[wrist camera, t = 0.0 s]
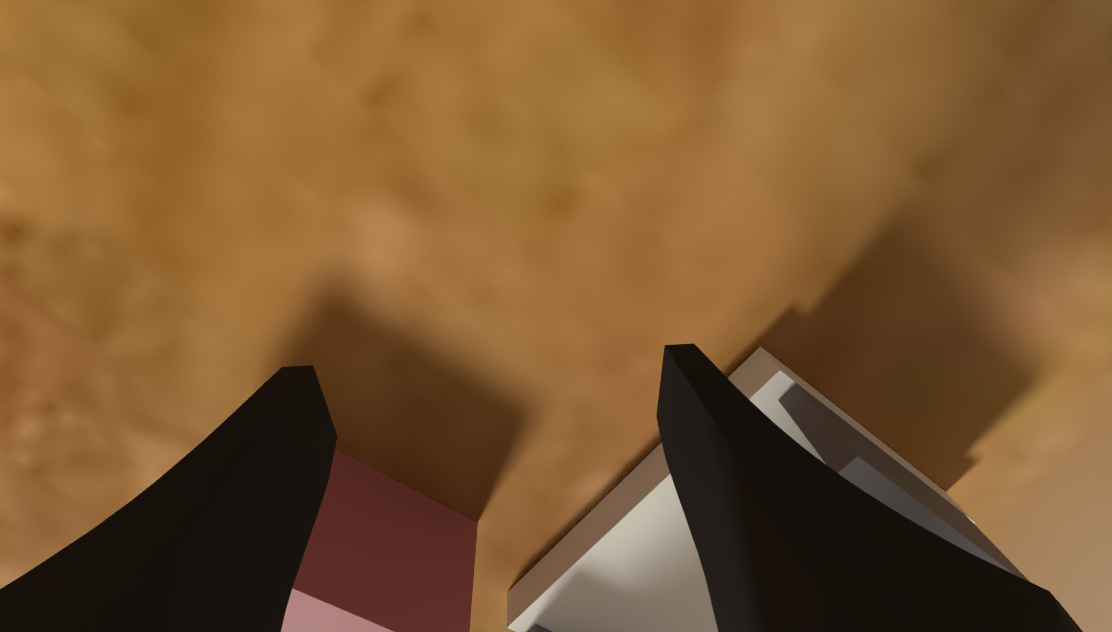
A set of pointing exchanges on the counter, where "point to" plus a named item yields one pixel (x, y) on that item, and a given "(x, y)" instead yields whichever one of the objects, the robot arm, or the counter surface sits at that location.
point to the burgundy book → (382, 559)
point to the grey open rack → (665, 539)
